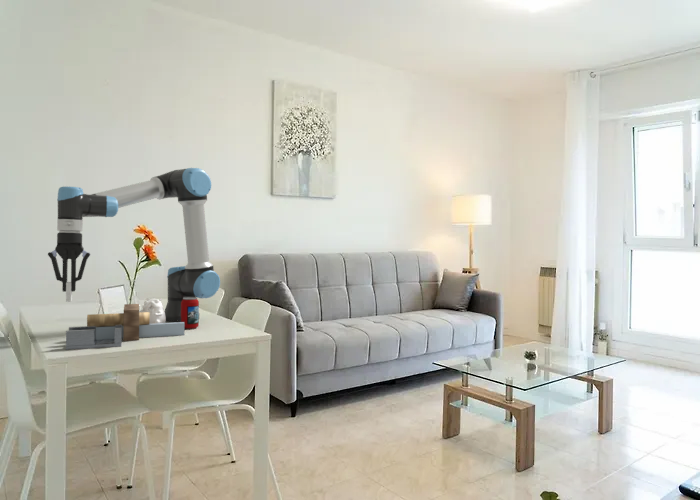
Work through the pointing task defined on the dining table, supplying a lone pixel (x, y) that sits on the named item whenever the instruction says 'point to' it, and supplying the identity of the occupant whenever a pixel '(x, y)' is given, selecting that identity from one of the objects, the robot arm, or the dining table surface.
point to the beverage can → (190, 312)
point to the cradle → (90, 338)
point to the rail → (144, 330)
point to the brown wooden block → (131, 322)
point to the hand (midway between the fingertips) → (68, 301)
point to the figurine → (154, 310)
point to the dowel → (114, 319)
